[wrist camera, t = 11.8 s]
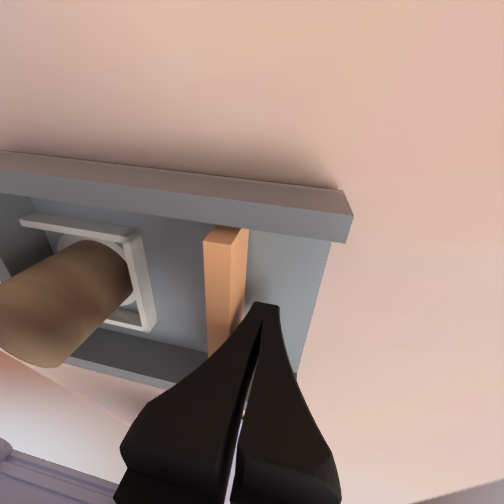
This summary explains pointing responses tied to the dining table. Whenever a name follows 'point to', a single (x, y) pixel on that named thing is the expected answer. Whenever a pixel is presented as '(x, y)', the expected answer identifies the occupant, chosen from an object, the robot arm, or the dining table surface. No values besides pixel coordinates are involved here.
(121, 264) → the brown rounded block
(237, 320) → the gate
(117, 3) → the dining table surface
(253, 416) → the robot arm
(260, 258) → the housing
